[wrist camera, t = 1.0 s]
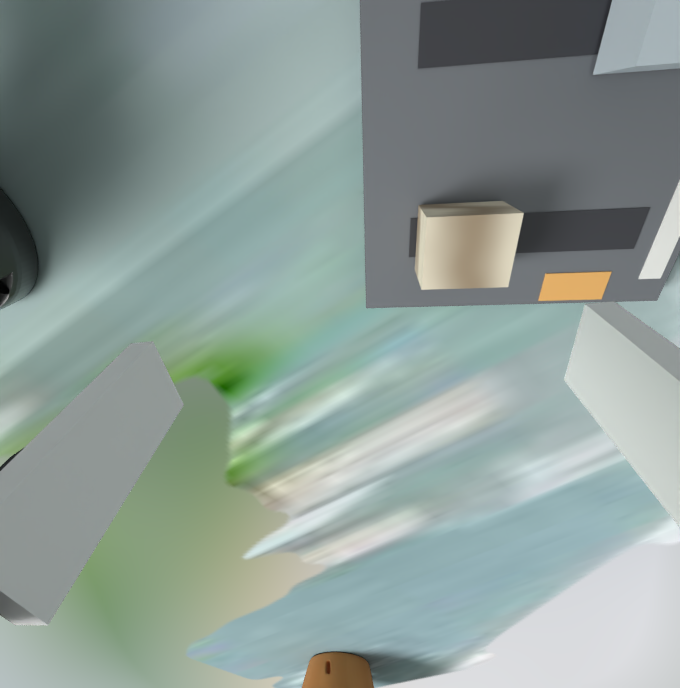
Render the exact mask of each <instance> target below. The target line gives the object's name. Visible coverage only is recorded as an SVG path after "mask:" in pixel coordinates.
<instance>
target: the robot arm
mask: <svg viewBox="0 0 680 688" xmlns="http://www.w3.org/2000/svg"><path fill="white" fill-rule="evenodd" d="M37 272H38V260H37V254H36V249H35V245H34V242H33V239H32V237H31V234H30V232H29V230H28V228H27V226H26V224H25V222H24V220H23V219H22V217H21V215H20V214H19V212H18V211H17V209H16V208H15V206H14V205H13V204H12V202H11V201H10V200H9V199H8V197H7V196H6V195H5V194H4V193H3V191H2V190H1V189H0V310H1V309H3V308H5V307H7V306H9V305H11V304H13V303H15V302H17V301H19V300H20V299H22V298H23V297H25V296H26V295H27V294H28V293H29V292H30V291H31V289H32V288H33V286H34V284H35V281H36V278H37ZM564 380H565V382H566V383H567V384H568V386H569V387H570V388H571V389H572V391H573V392H574V393H575V395H576V396H577V397H578V398H579V400H580V401H581V402H582V403H583V405H584V406H585V407H586V409H587V410H588V411H589V412H590V414H591V415H592V416H593V418H594V419H595V420H596V421H597V423H598V424H599V425H600V426H601V428H602V429H603V430H604V432H605V433H606V434H607V435H608V437H609V438H610V439H611V441H612V442H613V443H614V444H615V446H616V447H617V448H618V449H619V451H620V452H621V453H622V455H623V456H624V457H625V458H626V460H627V461H628V462H629V463H630V465H631V466H632V467H633V469H634V470H635V471H636V472H637V474H638V475H639V476H640V478H641V479H642V480H643V481H644V483H645V484H646V485H647V486H648V488H649V489H650V490H651V492H652V493H653V494H654V495H655V497H656V498H657V499H658V501H659V502H660V503H661V504H662V506H663V507H664V508H665V509H666V511H667V512H668V513H669V515H670V516H671V517H672V518H673V520H674V521H675V522H676V524H677V525H678V526H679V527H680V348H678V347H677V346H676V345H674V344H673V343H672V342H670V341H669V340H667V339H666V338H665V337H663V336H662V335H660V334H659V333H658V332H656V331H655V330H653V329H652V328H651V327H649V326H648V325H646V324H645V323H644V322H642V321H641V320H639V319H638V318H637V317H635V316H634V315H632V314H631V313H630V312H628V311H627V310H625V309H624V308H623V307H621V306H620V305H618V304H617V303H616V302H614V301H611V302H600V303H588V304H585V305H584V309H583V313H582V316H581V320H580V324H579V327H578V331H577V335H576V338H575V342H574V346H573V349H572V353H571V356H570V360H569V364H568V367H567V371H566V375H565V378H564ZM182 407H183V402H182V400H181V398H180V396H179V394H178V392H177V390H176V388H175V386H174V384H173V382H172V379H171V377H170V375H169V373H168V371H167V369H166V367H165V365H164V363H163V361H162V359H161V357H160V355H159V353H158V351H157V349H156V347H155V345H154V342H153V341H152V342H140V343H131V344H130V345H129V346H128V347H127V348H126V349H125V350H124V351H123V352H122V353H121V354H120V355H119V356H118V357H117V358H116V359H115V360H114V361H112V362H111V363H110V364H109V365H108V366H107V367H106V368H105V369H104V370H103V371H102V372H101V373H100V374H99V375H98V376H97V377H96V378H95V379H94V380H93V381H92V382H91V383H90V384H89V385H88V386H87V387H86V388H85V389H84V390H83V391H82V392H81V393H80V394H79V395H78V396H77V397H76V398H75V399H74V400H73V401H72V402H71V403H70V404H69V405H68V406H67V407H65V408H64V409H63V410H62V411H61V412H60V413H59V414H58V415H57V416H56V417H55V418H54V419H53V420H52V421H51V422H50V423H49V424H48V425H47V426H46V427H45V428H44V429H43V430H42V431H41V432H40V433H39V434H38V435H37V436H36V437H35V438H34V439H33V440H32V441H31V442H30V443H29V444H28V445H27V446H26V447H24V448H23V449H21V450H20V451H19V452H17V453H16V454H14V455H13V456H11V457H10V458H9V459H8V460H7V461H6V462H5V463H4V464H3V465H2V466H1V467H0V615H1V616H2V617H4V618H5V619H7V620H8V621H10V622H11V623H13V624H14V625H48V624H49V623H50V621H51V619H52V618H53V616H54V614H55V613H56V611H57V609H58V608H59V606H60V605H61V603H62V601H63V600H64V598H65V597H66V595H67V593H68V592H69V590H70V588H71V587H72V585H73V584H74V582H75V580H76V579H77V577H78V576H79V574H80V572H81V571H82V569H83V568H84V566H85V564H86V563H87V561H88V559H89V558H90V556H91V554H92V553H93V551H94V550H95V548H96V546H97V545H98V543H99V541H100V540H101V538H102V537H103V535H104V533H105V532H106V530H107V528H108V527H109V525H110V524H111V522H112V521H113V518H114V517H115V515H116V514H117V512H118V511H119V509H120V508H121V506H122V504H123V503H124V501H125V499H126V498H127V496H128V495H129V493H130V491H131V490H132V488H133V486H134V485H135V483H136V482H137V480H138V478H139V476H140V475H141V473H142V472H143V470H144V469H145V467H146V465H147V464H148V462H149V460H150V459H151V457H152V456H153V454H154V452H155V451H156V449H157V447H158V446H159V444H160V443H161V441H162V439H163V438H164V436H165V435H166V433H167V431H168V430H169V428H170V426H171V425H172V423H173V422H174V419H175V418H176V417H177V415H178V413H179V412H180V410H181V409H182Z"/></svg>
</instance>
